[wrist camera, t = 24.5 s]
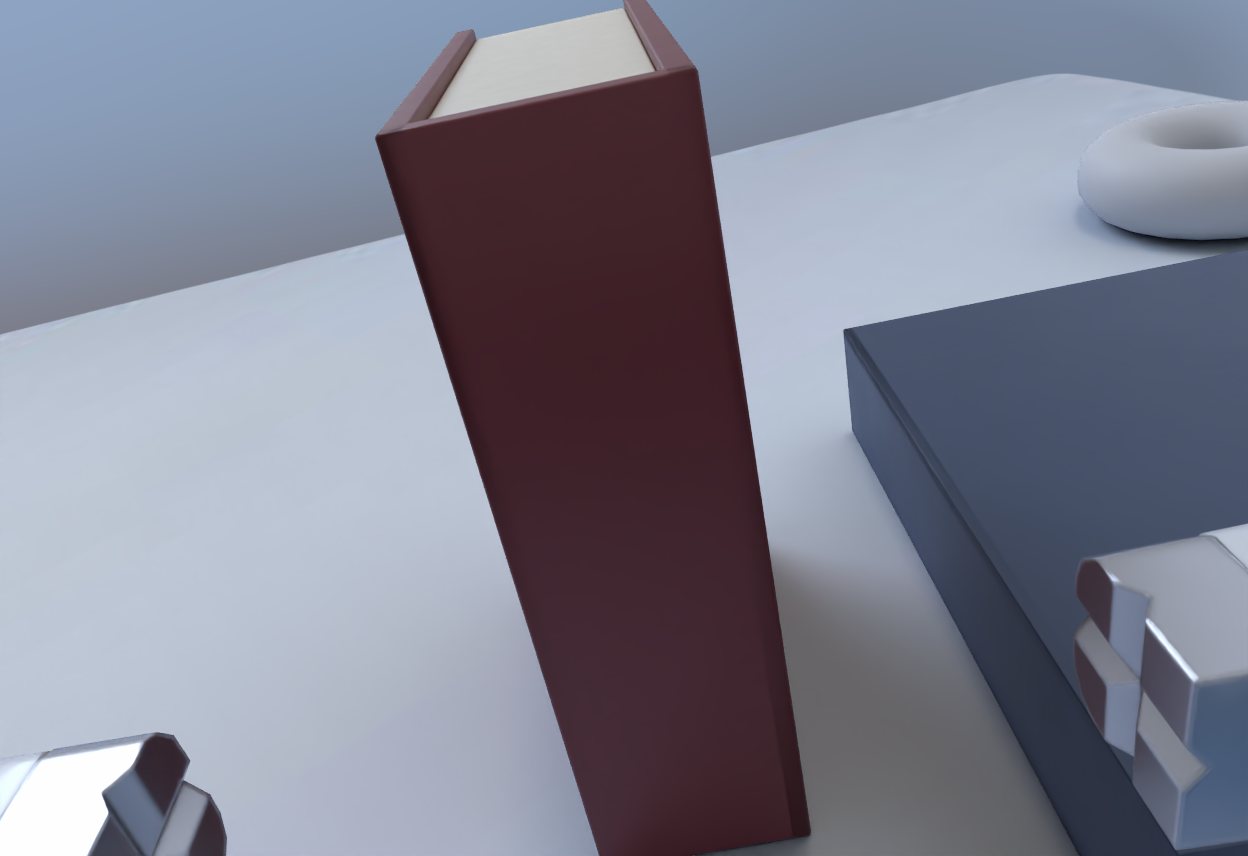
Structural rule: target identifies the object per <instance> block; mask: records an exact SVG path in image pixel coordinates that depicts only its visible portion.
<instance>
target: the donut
mask: <svg viewBox="0 0 1248 856" xmlns="http://www.w3.org/2000/svg"><path fill="white" fill-rule="evenodd" d="M1078 189H1079V195H1080V197H1081V198H1082V200H1083V202H1084V204H1085V205H1086V206H1087V207H1088V208H1090V209H1091V210H1092V211H1093V212H1094V213H1095V214H1096V215H1098V216H1099V217H1100V218H1101V219H1103V220H1104V221H1105V222H1107V223H1110V224H1112V225H1115V226H1118V227H1120V228H1123V229H1126V230H1128V231H1132V232H1136V233H1141V234H1146V235H1152V236H1157V237H1163V238H1174V239H1192V240H1213V239H1236V238H1244V237H1248V101H1228V102H1214V103H1204V104H1193V105H1186V106H1180V107H1174V108H1169V109H1163V110H1159V111H1155V112H1151V113H1147V114H1144V115H1140V116H1136V117H1134V118H1132V119H1130V120H1127V121H1125V122H1123V123H1120V124H1118V125H1116V126H1114V127H1112V128H1109V129H1107V130H1106V131H1105V132H1104V133H1103V134H1102V135H1101V136H1099V137H1098V138H1097V139H1096V140H1095V141H1094V142H1093V143H1092V144H1091V145H1090V146H1088V147H1087V148H1086V150H1085V152H1084V154H1083V155H1082V157H1081V159H1080V163H1079V168H1078Z"/></svg>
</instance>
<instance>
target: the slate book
mask: <svg viewBox="0 0 1248 856" xmlns="http://www.w3.org/2000/svg"><path fill="white" fill-rule="evenodd" d="M843 332H844V343H845V354H846V365H847V376H848V388H849V399H850V410H851V421H852V430H853V432H854V434H855V436H856V438H857V440H858V442H859V443H860V445H861V447H862V449H863V451H864V453H865V455H866V457H867V458H868V460H869V462H870V464H871V466H872V468H873V470H874V472H875V473H876V475H877V477H878V479H879V481H880V483H881V485H882V486H883V488H884V490H885V492H886V494H887V496H888V498H889V500H890V501H891V503H892V505H893V507H894V509H895V511H896V513H897V515H898V516H899V518H900V520H901V522H902V524H903V526H904V528H905V530H906V531H907V533H908V535H909V537H910V539H911V541H912V543H913V545H914V546H915V548H916V550H917V552H918V554H919V556H920V558H921V560H922V561H923V563H924V565H925V567H926V569H927V571H928V573H929V574H930V576H931V578H932V580H933V582H934V584H935V586H936V588H937V589H938V591H939V593H940V595H941V597H942V599H943V601H944V603H945V604H946V606H947V608H948V610H949V612H950V614H951V616H952V618H953V619H954V621H955V623H956V625H957V627H958V629H959V631H960V633H961V634H962V636H963V638H964V640H965V642H966V644H967V646H968V648H969V649H970V651H971V653H972V655H973V657H974V659H975V661H976V663H977V664H978V666H979V668H980V670H981V672H982V674H983V676H984V677H985V679H986V681H987V683H988V685H989V687H990V689H991V691H992V692H993V694H994V696H995V698H996V700H997V702H998V704H999V706H1000V707H1001V709H1002V711H1003V713H1004V715H1005V717H1006V719H1007V721H1008V722H1009V724H1010V726H1011V728H1012V730H1013V732H1014V734H1015V736H1016V737H1017V739H1018V741H1019V743H1020V745H1021V747H1022V749H1023V751H1024V752H1025V754H1026V756H1027V758H1028V760H1029V762H1030V764H1031V765H1032V767H1033V769H1034V771H1035V773H1036V775H1037V777H1038V779H1039V780H1040V782H1041V784H1042V786H1043V788H1044V790H1045V792H1046V794H1047V795H1048V797H1049V799H1050V801H1051V803H1052V805H1053V807H1054V809H1055V810H1056V812H1057V814H1058V816H1059V818H1060V820H1061V822H1062V824H1063V825H1064V827H1065V829H1066V831H1067V833H1068V835H1069V837H1070V839H1071V840H1072V842H1073V844H1074V846H1075V848H1076V850H1077V852H1078V854H1079V855H1080V856H1248V840H1245V841H1238V842H1231V843H1224V844H1217V845H1210V846H1203V847H1197V848H1190V849H1183V850H1175V848H1174V847H1173V845H1172V844H1171V842H1170V841H1169V839H1168V837H1167V836H1166V834H1165V833H1164V831H1163V830H1162V828H1161V827H1160V825H1159V824H1158V822H1157V821H1156V819H1155V818H1154V816H1153V814H1152V813H1151V811H1150V810H1149V808H1148V807H1147V805H1146V804H1145V802H1144V801H1143V799H1142V798H1141V796H1140V795H1139V793H1138V791H1137V790H1136V788H1135V787H1134V785H1133V784H1132V777H1133V763H1134V757H1133V756H1132V755H1130V754H1128V753H1126V752H1124V751H1122V750H1121V749H1119V748H1117V747H1115V746H1113V745H1111V744H1110V743H1108V742H1106V741H1105V740H1104V738H1103V737H1102V735H1101V733H1100V732H1099V730H1098V729H1097V727H1096V725H1095V724H1094V722H1093V721H1092V719H1091V717H1090V715H1089V713H1088V710H1087V708H1086V706H1085V704H1084V701H1083V699H1082V697H1081V695H1080V691H1079V686H1078V682H1077V678H1076V674H1075V670H1074V666H1073V634H1074V633H1075V631H1076V630H1077V629H1078V628H1079V626H1080V625H1081V624H1082V623H1083V621H1084V620H1085V619H1086V618H1087V616H1088V613H1087V612H1086V611H1085V609H1084V608H1083V606H1082V605H1081V604H1080V602H1079V601H1078V599H1077V598H1076V597H1075V595H1074V593H1075V574H1076V570H1077V568H1078V565H1079V563H1080V560H1081V558H1084V557H1089V556H1094V555H1099V554H1104V553H1109V552H1114V551H1119V550H1124V549H1130V548H1135V547H1140V546H1145V545H1150V544H1155V543H1160V542H1165V541H1170V540H1176V539H1181V538H1186V537H1191V536H1199V535H1200V534H1201V533H1205V532H1210V531H1215V530H1220V529H1224V528H1229V527H1234V526H1239V525H1244V524H1248V250H1243V251H1238V252H1233V253H1228V254H1223V255H1218V256H1212V257H1207V258H1202V259H1197V260H1192V261H1187V262H1182V263H1177V264H1172V265H1167V266H1162V267H1157V268H1152V269H1147V270H1142V271H1137V272H1132V273H1127V274H1121V275H1116V276H1111V277H1106V278H1101V279H1096V280H1091V281H1086V282H1081V283H1076V284H1071V285H1066V286H1061V287H1056V288H1051V289H1046V290H1041V291H1036V292H1030V293H1025V294H1020V295H1015V296H1010V297H1005V298H1000V299H995V300H990V301H985V302H980V303H975V304H970V305H965V306H960V307H955V308H950V309H945V310H939V311H934V312H929V313H924V314H919V315H914V316H909V317H904V318H899V319H894V320H889V321H884V322H879V323H874V324H869V325H864V326H859V327H854V328H848V329H844V330H843Z"/></svg>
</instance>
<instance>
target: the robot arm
mask: <svg viewBox="0 0 1248 856" xmlns="http://www.w3.org/2000/svg"><path fill="white" fill-rule="evenodd" d="M1074 595H1075V597H1076V598H1077V599H1078V601H1079V602H1080V604H1081V605H1082V606H1083V608H1084V609H1085V611H1086V612H1087V613H1088V616H1087V618H1086V619H1085V620H1084V621H1083V623H1082V624H1081V625H1080V626H1079V628H1078V629H1077V630H1076V631H1075V633H1074V634H1073V666H1074V670H1075V674H1076V678H1077V682H1078V686H1079V691H1080V695H1081V697H1082V699H1083V701H1084V704H1085V706H1086V708H1087V710H1088V713H1089V715H1090V717H1091V719H1092V721H1093V722H1094V724H1095V725H1096V727H1097V729H1098V730H1099V732H1100V733H1101V735H1102V737H1103V738H1104V740H1105V741H1106V742H1108V743H1110V744H1111V745H1113V746H1115V747H1117V748H1119V749H1121V750H1122V751H1124V752H1126V753H1128V754H1130V755H1132V756H1133V757H1134V763H1133V777H1132V784H1133V785H1134V787H1135V788H1136V790H1137V791H1138V793H1139V795H1140V796H1141V798H1142V799H1143V801H1144V802H1145V804H1146V805H1147V807H1148V808H1149V810H1150V811H1151V813H1152V814H1153V816H1154V818H1155V819H1156V821H1157V822H1158V824H1159V825H1160V827H1161V828H1162V830H1163V831H1164V833H1165V834H1166V836H1167V837H1168V839H1169V841H1170V842H1171V844H1172V845H1173V847H1174V848H1175V850H1183V849H1190V848H1197V847H1203V846H1210V845H1217V844H1224V843H1231V842H1238V841H1245V840H1248V524H1244V525H1239V526H1234V527H1229V528H1224V529H1220V530H1215V531H1210V532H1205V533H1201V534H1200V535H1199V536H1191V537H1186V538H1181V539H1176V540H1170V541H1165V542H1160V543H1155V544H1150V545H1145V546H1140V547H1135V548H1130V549H1124V550H1119V551H1114V552H1109V553H1104V554H1099V555H1094V556H1089V557H1084V558H1081V560H1080V563H1079V565H1078V568H1077V570H1076V574H1075V593H1074ZM189 763H190V759H189V758H188V756H187V755H186V753H185V752H184V750H183V749H182V747H181V746H180V744H179V743H178V741H177V740H176V738H175V737H174V735H170V734H164V733H158V732H156V733H150V734H143V735H137V736H131V737H125V738H119V739H113V740H107V741H101V742H95V743H89V744H82V745H76V746H70V747H64V748H58V749H54V750H52V751H48V752H41V753H34V754H28V755H22V756H16V757H10V758H4V759H0V856H226V844H227V836H226V832H225V828H224V824H223V821H222V817H221V813H220V811H219V809H218V808H217V806H216V804H215V802H214V801H213V799H212V797H211V795H210V794H208V793H207V792H205V791H203V790H201V789H199V788H197V787H195V786H194V785H192V784H190V783H188V782H186V781H184V778H185V775H186V772H187V769H188V766H189Z"/></svg>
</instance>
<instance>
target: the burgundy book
mask: <svg viewBox="0 0 1248 856" xmlns="http://www.w3.org/2000/svg"><path fill="white" fill-rule="evenodd" d="M623 1H624V6H625V9H624V8H621V9H616V10H612V11H607V12H602V13H598V14H594V15H588V16H584V17H579V18H575V19H570V20H565V21H561V22H556V23H551V24H547V25H542V26H537V27H533V28H528V29H523V30H519V31H514V32H510V33H505V34H500V35H496V36H491V37H486V38H482V39H478V40H476V37H475V33H474V30H472V29H471V30H466V31H462V32H457V33H456V34H455V35H454V37H453V38H452V39H451V41H450V42H449V43H448V44H447V46H446V47H445V48H444V49H443V51H442V52H441V53H440V55H439V56H438V57H437V59H436V60H435V61H434V62H433V63H432V65H431V66H430V67H429V69H428V70H427V71H426V72H425V74H424V75H423V76H422V77H421V79H420V80H419V81H418V83H417V84H416V85H415V86H414V88H413V89H412V90H411V92H410V93H409V94H408V95H407V97H406V98H405V99H404V100H403V102H402V103H401V104H400V106H399V107H398V108H397V109H396V111H395V112H394V113H393V115H392V116H391V117H390V118H389V120H388V121H387V122H386V123H385V125H384V126H383V127H382V129H381V130H380V131H379V133H378V134H377V135H376V138H375V140H376V143H377V146H378V149H379V152H380V156H381V159H382V162H383V165H384V168H385V172H386V175H387V178H388V181H389V184H390V188H391V191H392V194H393V197H394V201H395V203H396V207H397V210H398V213H399V217H400V220H401V223H402V226H403V229H404V233H405V236H406V239H407V242H408V245H409V249H410V252H411V255H412V258H413V261H414V265H415V268H416V271H417V274H418V277H419V281H420V284H421V287H422V290H423V293H424V297H425V300H426V303H427V306H428V309H429V313H430V316H431V319H432V322H433V325H434V329H435V332H436V335H437V338H438V341H439V344H440V348H441V351H442V354H443V357H444V360H445V364H446V367H447V370H448V373H449V376H450V380H451V383H452V386H453V389H454V392H455V396H456V399H457V402H458V405H459V408H460V412H461V415H462V418H463V421H464V424H465V428H466V431H467V434H468V437H469V440H470V444H471V447H472V450H473V453H474V456H475V460H476V463H477V466H478V469H479V472H480V476H481V479H482V482H483V485H484V488H485V492H486V495H487V498H488V501H489V504H490V508H491V511H492V514H493V517H494V520H495V524H496V527H497V530H498V533H499V536H500V539H501V543H502V546H503V549H504V552H505V555H506V559H507V562H508V565H509V568H510V571H511V575H512V578H513V581H514V584H515V587H516V591H517V594H518V597H519V600H520V603H521V607H522V610H523V613H524V616H525V619H526V623H527V626H528V629H529V632H530V635H531V639H532V642H533V645H534V648H535V651H536V655H537V658H538V661H539V664H540V667H541V671H542V674H543V677H544V680H545V683H546V687H547V690H548V693H549V696H550V699H551V703H552V706H553V709H554V712H555V715H556V719H557V722H558V725H559V728H560V731H561V734H562V738H563V741H564V744H565V747H566V750H567V754H568V757H569V760H570V763H571V766H572V770H573V773H574V776H575V779H576V782H577V786H578V789H579V792H580V795H581V798H582V802H583V805H584V808H585V811H586V814H587V818H588V821H589V824H590V827H591V830H592V834H593V837H594V840H595V843H596V846H597V850H598V853H599V856H691V855H697V854H703V853H708V852H714V851H720V850H726V849H732V848H737V847H743V846H749V845H755V844H760V843H766V842H772V841H778V840H783V839H789V838H795V837H801V836H806V835H810V834H811V828H810V821H809V815H808V808H807V801H806V795H805V788H804V781H803V774H802V768H801V761H800V754H799V748H798V741H797V734H796V727H795V721H794V714H793V707H792V700H791V694H790V687H789V680H788V674H787V667H786V660H785V653H784V647H783V640H782V633H781V627H780V620H779V613H778V606H777V600H776V593H775V586H774V579H773V573H772V566H771V559H770V553H769V546H768V539H767V532H766V526H765V519H764V512H763V505H762V499H761V492H760V485H759V479H758V472H757V465H756V458H755V452H754V445H753V438H752V432H751V425H750V418H749V411H748V405H747V398H746V391H745V384H744V378H743V371H742V364H741V358H740V351H739V344H738V337H737V331H736V324H735V317H734V311H733V304H732V297H731V290H730V284H729V277H728V270H727V263H726V257H725V250H724V243H723V237H722V230H721V223H720V216H719V210H718V203H717V196H716V189H715V183H714V176H713V169H712V163H711V156H710V149H709V143H708V136H707V129H706V122H705V116H704V109H703V102H702V96H701V90H700V82H699V76H698V70H697V69H696V67H695V66H694V65H693V63H692V62H691V60H690V59H689V58H688V56H687V55H686V54H685V52H684V51H683V50H682V48H681V47H680V46H679V45H678V43H677V42H676V40H675V39H674V38H673V36H672V35H671V33H670V32H669V31H668V29H667V28H666V27H665V26H664V24H663V23H662V21H661V20H660V19H659V17H658V16H657V15H656V13H655V12H654V11H653V9H652V8H651V6H650V5H649V4H648V3H647V1H646V0H623Z"/></svg>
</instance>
